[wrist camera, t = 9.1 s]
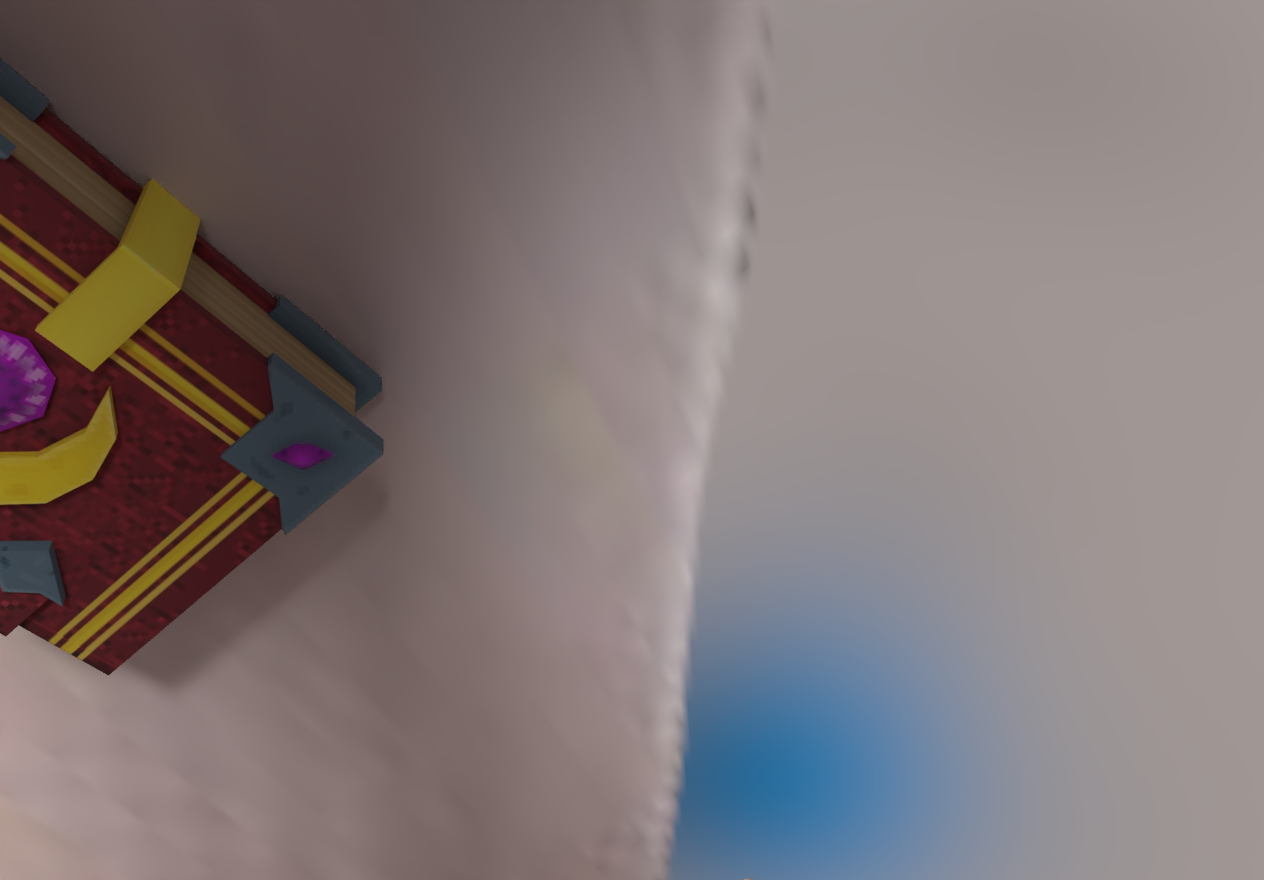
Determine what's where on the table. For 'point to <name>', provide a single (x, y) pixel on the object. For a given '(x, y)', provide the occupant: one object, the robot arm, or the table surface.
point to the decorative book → (143, 399)
